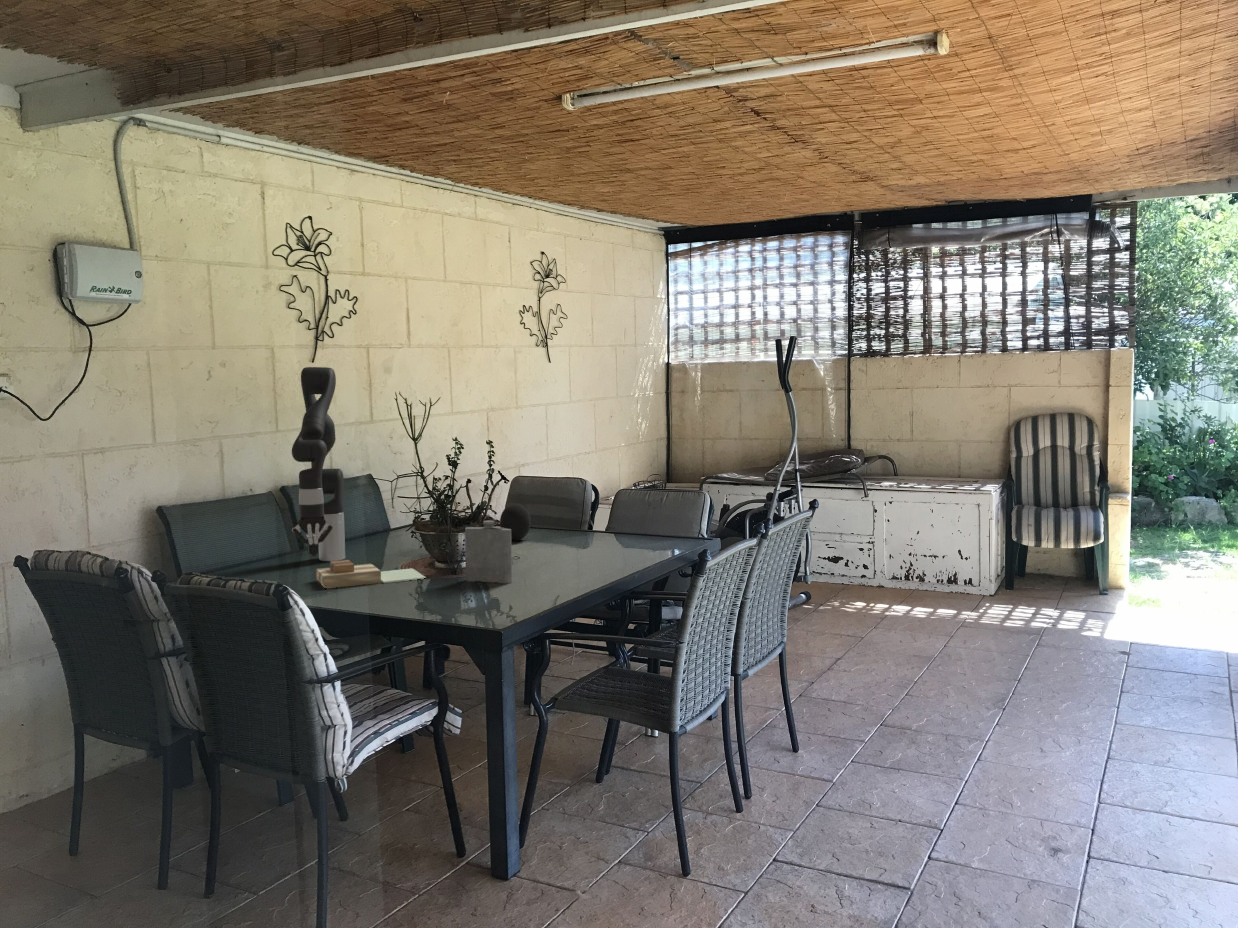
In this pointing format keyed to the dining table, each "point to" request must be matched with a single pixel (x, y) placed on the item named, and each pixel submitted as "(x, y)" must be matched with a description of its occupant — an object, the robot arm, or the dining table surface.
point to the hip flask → (488, 553)
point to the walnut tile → (342, 566)
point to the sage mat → (400, 575)
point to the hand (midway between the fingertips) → (313, 555)
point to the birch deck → (349, 576)
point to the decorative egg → (516, 521)
